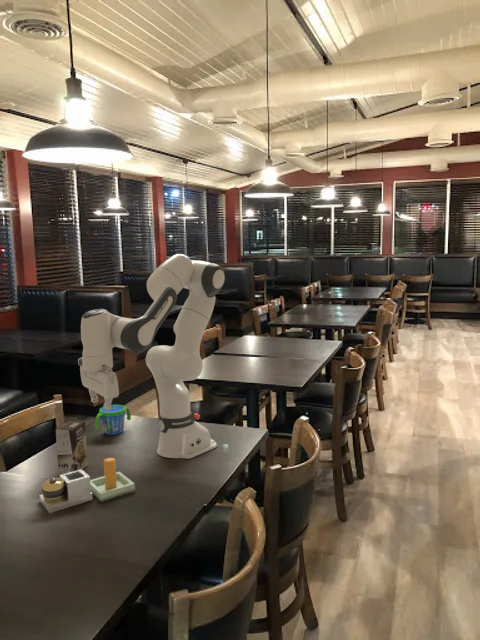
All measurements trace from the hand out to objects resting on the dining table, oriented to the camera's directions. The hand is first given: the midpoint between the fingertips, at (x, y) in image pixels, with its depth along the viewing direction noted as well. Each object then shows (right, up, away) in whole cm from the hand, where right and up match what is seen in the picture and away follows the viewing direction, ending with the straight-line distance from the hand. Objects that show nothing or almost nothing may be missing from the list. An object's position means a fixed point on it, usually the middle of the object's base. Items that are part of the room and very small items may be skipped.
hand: (101, 405), depth 166 cm
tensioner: (-9, -28, -5) cm, 30 cm away
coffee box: (-14, -25, +17) cm, 33 cm away
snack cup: (-8, -19, +52) cm, 56 cm away
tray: (+3, -27, +2) cm, 27 cm away
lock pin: (+3, -26, +2) cm, 26 cm away
